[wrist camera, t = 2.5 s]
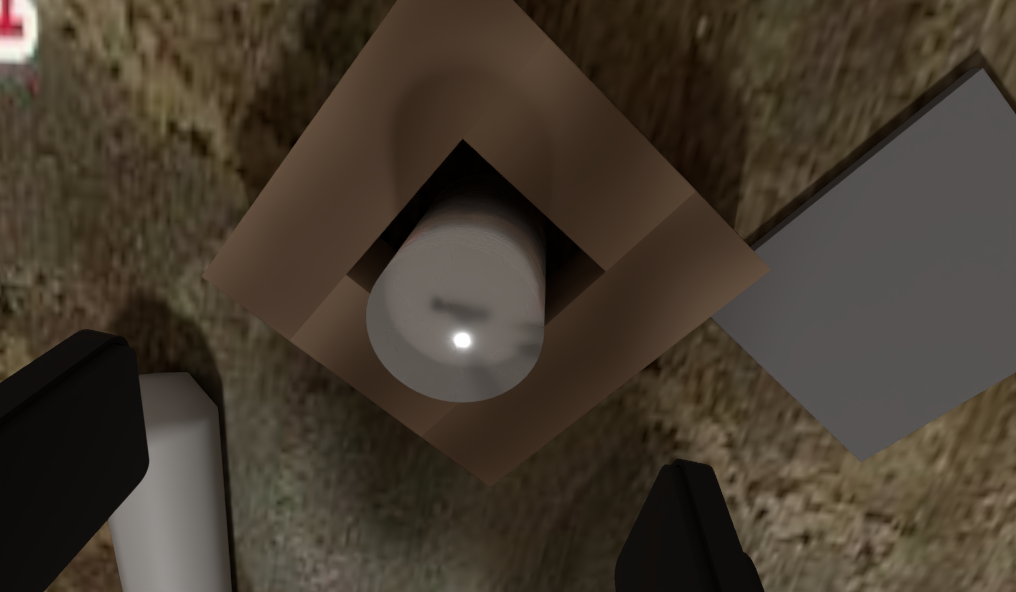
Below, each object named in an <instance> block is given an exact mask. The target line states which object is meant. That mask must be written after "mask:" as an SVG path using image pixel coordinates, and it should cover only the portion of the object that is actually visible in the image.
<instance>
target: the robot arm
mask: <svg viewBox="0 0 1016 592" xmlns="http://www.w3.org/2000/svg"><path fill="white" fill-rule="evenodd" d="M148 467H149V452H148V444H147V436H146V428H145V421H144V413H143V405H142V397H141V390H140V382H139V374H138V366H137V358H136V353H135V351H134V349H133V348H130V347H129V345H128V342H127V341H126V339H125V338H123V337H121V336H117V335H112V334H108V333H103V332H99V331H94V330H89V329H85V330H81V331H79V332H77V333H75V334H73V335H72V336H70V337H69V338H67V339H66V340H64V341H63V342H61V343H60V344H58V345H57V346H55V347H54V348H52V349H51V350H49V351H48V352H46V353H45V354H43V355H42V356H40V357H39V358H37V359H36V360H34V361H33V362H31V363H30V364H28V365H27V366H25V367H23V368H22V369H20V370H19V371H17V372H16V373H14V374H13V375H11V376H10V377H8V378H7V379H5V380H4V381H2V382H1V383H0V592H44V591H45V590H46V589H47V587H48V586H49V585H50V584H51V583H52V582H53V581H54V580H55V578H56V577H57V576H58V575H59V574H60V573H61V572H62V571H63V569H64V568H65V567H66V566H67V565H68V564H69V563H70V562H71V560H72V559H73V558H74V557H75V556H76V555H77V554H78V553H79V551H80V550H81V549H82V548H83V547H84V546H85V545H86V543H87V542H88V541H89V540H90V539H91V538H92V537H93V536H94V534H95V533H96V532H97V531H98V530H99V529H100V528H101V527H102V525H103V524H104V523H105V522H106V521H107V520H108V519H109V518H110V516H111V515H112V514H113V513H114V512H115V511H116V510H117V508H118V507H119V506H120V505H121V504H122V503H123V502H124V501H125V499H126V498H127V497H128V496H129V495H130V494H131V493H132V492H133V490H134V489H135V488H136V487H137V486H138V485H139V484H140V482H141V481H142V480H143V478H144V477H145V475H146V473H147V470H148ZM615 587H616V592H764V589H763V586H762V584H761V581H760V578H759V575H758V573H757V570H756V568H755V566H754V564H753V562H752V560H751V558H750V557H749V556H748V555H747V554H746V553H744V552H743V550H742V547H741V545H740V542H739V539H738V536H737V533H736V531H735V528H734V525H733V522H732V520H731V517H730V514H729V511H728V508H727V506H726V503H725V500H724V497H723V495H722V492H721V489H720V486H719V483H718V481H717V478H716V475H715V472H714V470H713V469H712V467H711V466H709V465H706V464H702V463H697V462H692V461H688V460H683V459H676V460H675V461H674V462H673V463H672V465H666V464H665V465H664V466H663V467H662V468H661V470H660V472H659V474H658V476H657V478H656V480H655V482H654V484H653V487H652V489H651V491H650V493H649V495H648V497H647V499H646V501H645V503H644V505H643V507H642V509H641V511H640V514H639V516H638V518H637V520H636V522H635V524H634V526H633V528H632V530H631V532H630V534H629V536H628V539H627V541H626V543H625V545H624V547H623V549H622V551H621V553H620V555H619V557H618V560H617V563H616V567H615Z"/></svg>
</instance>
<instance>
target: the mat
mask: <svg viewBox="0 0 1016 592" xmlns="http://www.w3.org/2000/svg"><path fill="white" fill-rule="evenodd" d="M750 247H751V249H752V250H753V251H754V252H755V253H756V254H757V255H758V256H759V257H760V258H761V259H762V260H763V261H764V262H765V264H766V265H767V266H768V267H769V268H770V269H771V270H770V271H769V272H767V273H766V274H765V275H764V276H762V277H761V278H760V279H758V280H757V281H756V282H755V283H753V284H752V285H751V286H749V287H748V288H747V289H746V290H744V291H743V292H742V293H740V294H739V295H738V296H737V297H735V298H734V299H733V300H731V301H730V302H729V303H728V304H726V305H725V306H724V307H722V308H721V309H720V310H719V311H717V312H716V313H715V314H713V315H712V316H711V318H712V319H713V320H714V321H715V322H716V323H717V324H718V325H720V326H721V327H722V328H723V329H724V330H725V331H726V332H727V333H728V334H729V335H730V336H731V337H732V338H733V339H734V340H735V341H736V342H737V343H738V344H739V345H740V346H741V347H742V348H743V349H744V350H745V351H746V352H748V353H749V354H750V355H751V356H752V357H753V358H754V359H755V360H756V361H757V362H758V363H759V364H760V365H761V366H762V367H763V368H764V369H765V370H766V371H767V372H768V373H769V374H770V375H771V376H772V377H773V378H774V379H775V380H777V381H778V382H779V383H780V384H781V385H782V386H783V387H784V388H785V389H786V390H787V391H788V392H789V393H790V394H791V395H792V396H793V397H794V398H795V399H796V400H797V401H798V402H799V403H800V404H801V405H802V406H803V407H805V408H806V409H807V410H808V411H809V412H810V413H811V414H812V415H813V416H814V417H815V418H816V419H817V420H818V421H819V422H820V423H821V424H822V425H823V426H824V427H825V428H826V429H827V430H828V431H829V432H830V433H831V434H832V435H834V436H835V437H836V438H837V439H838V440H839V441H840V442H841V443H842V444H843V445H844V446H845V447H846V448H847V449H848V450H849V451H850V452H851V453H852V454H853V455H854V456H855V457H856V458H857V459H858V460H859V461H860V462H862V461H864V460H865V459H867V458H869V457H871V456H872V455H874V454H876V453H877V452H879V451H881V450H883V449H884V448H886V447H888V446H889V445H891V444H893V443H895V442H896V441H898V440H900V439H902V438H903V437H905V436H907V435H908V434H910V433H912V432H914V431H915V430H917V429H919V428H920V427H922V426H924V425H926V424H927V423H929V422H931V421H932V420H934V419H936V418H938V417H939V416H941V415H943V414H945V413H946V412H948V411H950V410H951V409H953V408H955V407H957V406H958V405H960V404H962V403H963V402H965V401H967V400H969V399H970V398H972V397H974V396H976V395H977V394H979V393H981V392H982V391H984V390H986V389H988V388H989V387H991V386H993V385H994V384H996V383H998V382H1000V381H1001V380H1003V379H1005V378H1006V377H1008V376H1010V375H1012V374H1013V373H1015V372H1016V114H1015V113H1014V111H1013V110H1012V108H1011V107H1010V106H1009V104H1008V103H1007V101H1006V100H1005V99H1004V97H1003V96H1002V94H1001V93H1000V91H999V90H998V89H997V87H996V86H995V84H994V83H993V82H992V80H991V79H990V77H989V76H988V75H987V73H986V72H985V70H984V69H983V68H975V67H972V68H971V69H970V70H968V71H967V72H966V73H965V74H963V75H962V76H961V77H960V78H958V79H957V80H956V81H955V82H953V83H952V84H951V85H950V86H949V87H947V88H946V89H945V90H944V91H942V92H941V93H940V94H939V95H937V96H936V97H935V98H934V99H932V100H931V101H930V102H929V103H927V104H926V105H925V106H924V107H923V108H921V109H920V110H919V111H918V112H916V113H915V114H914V115H913V116H911V117H910V118H909V119H908V120H906V121H905V122H904V123H903V124H902V125H900V126H899V127H898V128H897V129H895V130H894V131H893V132H892V133H890V134H889V135H888V136H887V137H885V138H884V139H883V140H882V141H880V142H879V143H878V144H877V145H876V146H874V147H873V148H872V149H871V150H869V151H868V152H867V153H866V154H864V155H863V156H862V157H861V158H859V159H858V160H857V161H856V162H854V163H853V164H852V165H851V166H850V167H848V168H847V169H846V170H845V171H843V172H842V173H841V174H840V175H838V176H837V177H836V178H835V179H833V180H832V181H831V182H830V183H828V184H827V185H826V186H825V187H824V188H822V189H821V190H820V191H819V192H817V193H816V194H815V195H814V196H812V197H811V198H810V199H809V200H807V201H806V202H805V203H804V204H802V205H801V206H800V207H799V208H798V209H796V210H795V211H794V212H793V213H791V214H790V215H789V216H788V217H786V218H785V219H784V220H783V221H781V222H780V223H779V224H778V225H776V226H775V227H774V228H773V229H772V230H770V231H769V232H768V233H767V234H765V235H764V236H763V237H762V238H760V239H759V240H758V241H757V242H755V243H754V244H753V245H752V246H750Z"/></svg>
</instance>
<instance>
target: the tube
mask: <svg viewBox="0 0 1016 592" xmlns="http://www.w3.org/2000/svg"><path fill="white" fill-rule="evenodd" d="M139 382H140V390H141V397H142V405H143V413H144V421H145V428H146V436H147V444H148V452H149V467H148V470H147V473H146V475H145V477H144V478H143V480H142V481H141V482H140V484H139V485H138V486H137V487H136V488H135V489H134V490H133V492H132V493H131V494H130V495H129V496H128V497H127V498H126V499H125V501H124V502H123V503H122V504H121V505H120V506H119V507H118V508H117V510H116V511H115V512H114V513H113V514H112V515H111V516H110V518H109V519H108V522H109V527H110V531H111V536H112V541H113V546H114V551H115V555H116V560H117V565H118V570H119V575H120V579H121V584H122V589H123V592H232V586H231V573H230V560H229V547H228V534H227V520H226V507H225V494H224V481H223V468H222V455H221V441H220V428H219V415H218V407H217V406H216V405H215V404H214V402H213V401H212V400H211V399H210V398H209V397H208V395H207V394H206V393H205V392H204V391H203V389H202V388H201V387H200V386H199V385H198V384H197V382H196V381H195V380H194V379H193V378H192V377H191V375H190V374H189V373H188V372H170V373H152V374H143V375H139Z"/></svg>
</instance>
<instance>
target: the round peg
mask: <svg viewBox="0 0 1016 592" xmlns="http://www.w3.org/2000/svg"><path fill="white" fill-rule="evenodd" d="M546 249H547V228H546V222H545V218H544V215H543V213H542V212H541V211H540V210H539V209H538V208H537V207H536V206H535V205H534V204H533V203H532V202H530V201H529V200H528V199H527V198H526V197H525V196H524V195H523V194H522V193H521V192H520V191H519V190H518V189H516V188H515V187H514V186H513V185H512V184H511V183H510V182H509V181H508V180H507V179H506V178H505V177H502V176H498V175H492V174H475V175H470V176H466V177H463V178H461V179H458V180H456V181H455V182H453V183H451V184H450V185H448V186H447V187H446V188H445V189H444V190H443V191H441V192H440V194H439V195H438V196H437V197H436V199H435V200H434V202H433V203H432V204H431V206H430V207H429V208H428V210H427V211H426V213H425V214H424V215H423V217H422V218H421V220H420V221H419V222H418V224H417V225H416V227H415V228H414V229H413V231H412V232H411V234H410V235H409V236H408V238H407V239H406V241H405V242H404V243H403V245H402V246H401V247H400V249H399V250H398V252H397V253H396V254H395V256H394V257H393V259H392V260H391V261H390V263H389V264H388V266H387V267H386V268H385V270H384V271H383V273H382V274H381V275H380V277H379V278H378V280H377V281H376V283H375V285H374V287H373V288H372V291H371V293H370V296H369V299H368V304H367V309H366V324H367V331H368V335H369V339H370V342H371V344H372V347H373V349H374V351H375V353H376V354H377V356H378V358H379V359H380V361H381V362H382V364H383V365H384V366H385V367H386V369H387V370H388V371H389V372H390V373H391V374H392V375H393V376H394V377H396V378H397V379H398V380H399V381H400V382H402V383H403V384H405V385H406V386H408V387H409V388H411V389H413V390H415V391H417V392H418V393H421V394H423V395H426V396H428V397H431V398H435V399H438V400H443V401H449V402H476V401H482V400H486V399H490V398H493V397H496V396H498V395H501V394H503V393H505V392H507V391H508V390H510V389H512V388H513V387H514V386H516V385H517V384H518V383H520V382H521V381H522V380H523V379H524V378H525V377H526V376H527V375H528V373H529V372H530V371H531V370H532V368H533V367H534V365H535V363H536V361H537V360H538V357H539V355H540V352H541V349H542V345H543V340H544V317H545V283H546Z"/></svg>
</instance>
